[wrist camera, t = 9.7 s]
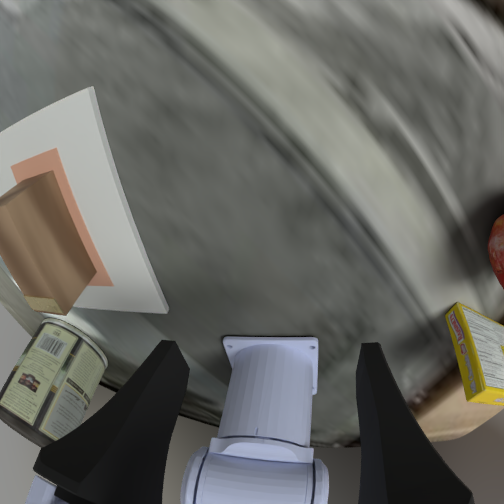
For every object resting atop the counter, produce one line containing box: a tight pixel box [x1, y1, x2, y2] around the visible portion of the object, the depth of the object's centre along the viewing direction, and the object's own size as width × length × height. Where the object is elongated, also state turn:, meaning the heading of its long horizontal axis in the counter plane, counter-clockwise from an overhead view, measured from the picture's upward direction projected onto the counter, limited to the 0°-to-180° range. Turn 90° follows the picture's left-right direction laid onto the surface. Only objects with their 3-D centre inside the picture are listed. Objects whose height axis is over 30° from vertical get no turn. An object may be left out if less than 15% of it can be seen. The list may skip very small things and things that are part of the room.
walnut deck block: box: [0, 170, 97, 316], centre depth 19 cm, size 4×9×5 cm, turn 9°
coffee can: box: [0, 318, 108, 448], centre depth 27 cm, size 10×10×14 cm
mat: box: [0, 86, 169, 314], centre depth 21 cm, size 18×14×1 cm
